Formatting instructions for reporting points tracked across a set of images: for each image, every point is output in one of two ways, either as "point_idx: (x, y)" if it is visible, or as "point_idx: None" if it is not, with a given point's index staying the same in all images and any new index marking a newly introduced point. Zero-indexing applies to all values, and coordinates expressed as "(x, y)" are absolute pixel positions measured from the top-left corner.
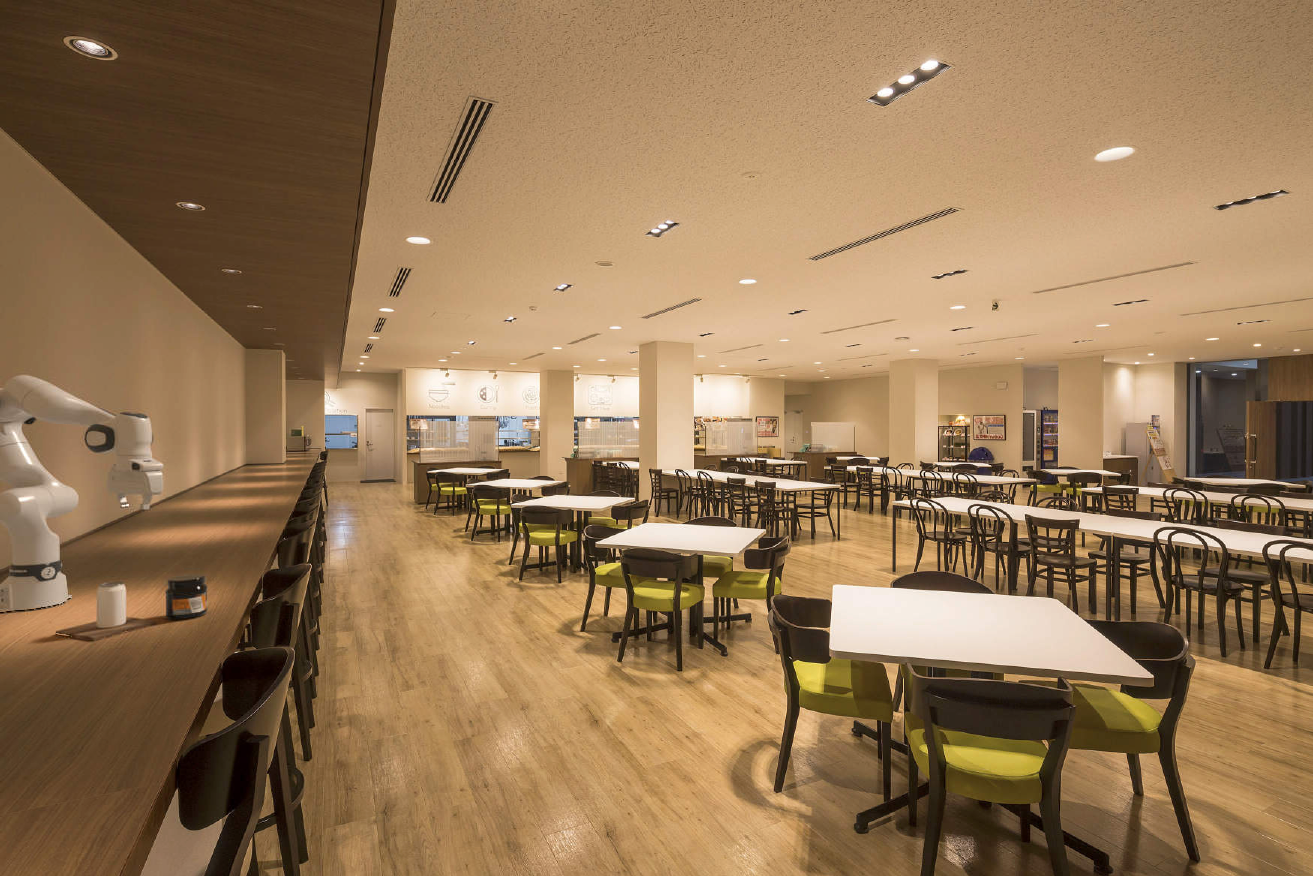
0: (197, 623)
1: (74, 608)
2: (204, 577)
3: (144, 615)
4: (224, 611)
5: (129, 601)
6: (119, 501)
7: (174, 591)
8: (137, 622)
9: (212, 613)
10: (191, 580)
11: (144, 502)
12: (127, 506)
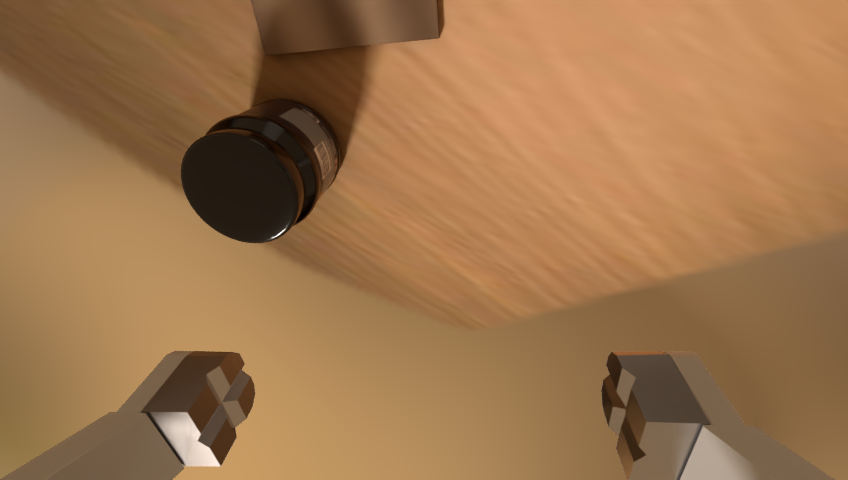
0: (187, 113)
1: (746, 46)
2: (207, 223)
3: (410, 99)
4: None
5: (630, 178)
6: (747, 443)
7: (220, 124)
8: (292, 15)
9: None
10: (181, 175)
11: (78, 435)
12: (605, 406)
